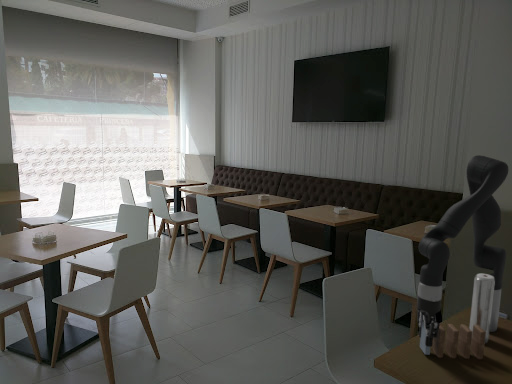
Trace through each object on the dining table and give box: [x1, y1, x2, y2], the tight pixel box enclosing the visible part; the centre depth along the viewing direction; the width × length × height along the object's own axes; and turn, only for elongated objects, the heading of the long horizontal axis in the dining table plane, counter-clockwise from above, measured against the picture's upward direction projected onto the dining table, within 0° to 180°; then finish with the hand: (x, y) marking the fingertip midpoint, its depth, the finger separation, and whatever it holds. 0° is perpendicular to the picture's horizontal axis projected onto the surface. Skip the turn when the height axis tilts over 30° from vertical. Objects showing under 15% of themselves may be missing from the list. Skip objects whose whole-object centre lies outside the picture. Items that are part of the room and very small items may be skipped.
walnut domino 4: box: [470, 325, 486, 360], centre depth 136 cm, size 2×5×10 cm, turn 178°
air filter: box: [468, 273, 495, 344], centre depth 146 cm, size 6×6×25 cm
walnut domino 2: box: [444, 323, 460, 359], centre depth 137 cm, size 2×5×10 cm, turn 178°
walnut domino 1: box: [431, 324, 446, 359], centre depth 137 cm, size 2×5×10 cm, turn 178°
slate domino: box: [419, 322, 431, 356], centre depth 137 cm, size 2×5×10 cm, turn 178°
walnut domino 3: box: [457, 324, 472, 360], centre depth 136 cm, size 2×5×10 cm, turn 178°
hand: (425, 341), depth 137 cm, fingers closed on slate domino, 5 cm apart
